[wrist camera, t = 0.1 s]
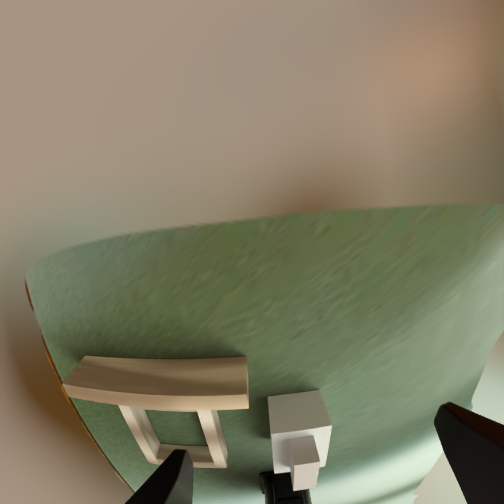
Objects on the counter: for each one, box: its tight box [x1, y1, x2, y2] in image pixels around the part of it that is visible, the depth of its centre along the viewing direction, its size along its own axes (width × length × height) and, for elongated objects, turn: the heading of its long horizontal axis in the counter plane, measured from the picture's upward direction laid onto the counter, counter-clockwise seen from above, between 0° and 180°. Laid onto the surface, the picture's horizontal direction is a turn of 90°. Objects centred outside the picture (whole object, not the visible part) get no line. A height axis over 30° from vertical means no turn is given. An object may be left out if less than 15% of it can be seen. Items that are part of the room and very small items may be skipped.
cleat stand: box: [62, 356, 249, 468], centre depth 22 cm, size 14×16×5 cm
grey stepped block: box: [268, 390, 332, 491], centre depth 21 cm, size 7×5×8 cm
